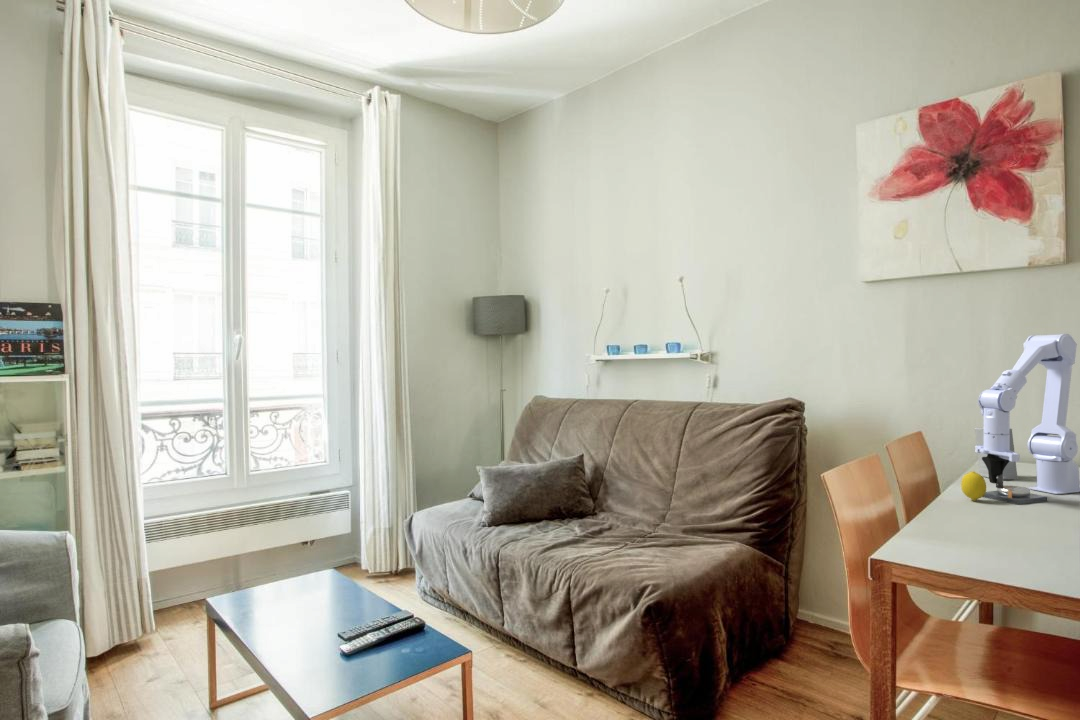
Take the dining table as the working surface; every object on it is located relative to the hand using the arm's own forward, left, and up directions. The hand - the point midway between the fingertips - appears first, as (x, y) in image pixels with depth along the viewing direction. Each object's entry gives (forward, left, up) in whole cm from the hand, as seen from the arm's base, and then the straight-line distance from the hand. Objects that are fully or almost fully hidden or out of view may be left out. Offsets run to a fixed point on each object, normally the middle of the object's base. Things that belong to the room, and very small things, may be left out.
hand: (996, 483), depth 168 cm
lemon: (+8, +1, -4) cm, 10 cm away
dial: (-3, +3, -3) cm, 4 cm away
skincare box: (-24, -20, -4) cm, 31 cm away
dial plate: (-3, +3, -4) cm, 5 cm away
